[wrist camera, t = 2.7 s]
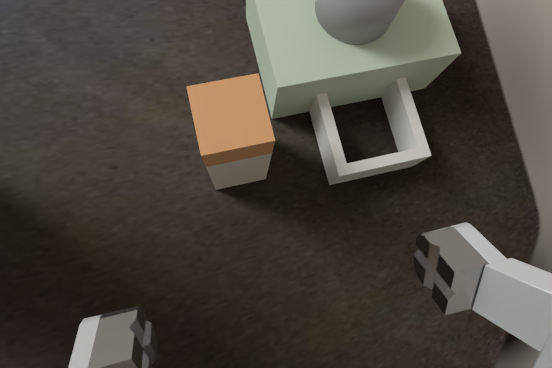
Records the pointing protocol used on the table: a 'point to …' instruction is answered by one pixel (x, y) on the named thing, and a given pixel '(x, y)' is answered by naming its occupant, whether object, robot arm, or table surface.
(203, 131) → the two-tone orange block
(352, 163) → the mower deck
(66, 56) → the table surface
